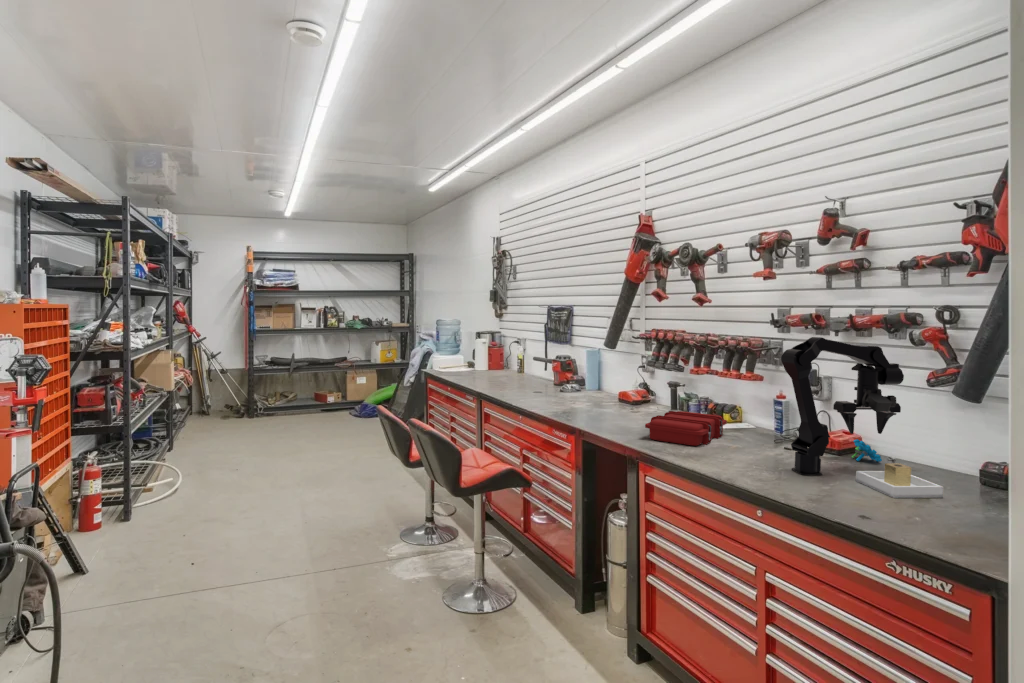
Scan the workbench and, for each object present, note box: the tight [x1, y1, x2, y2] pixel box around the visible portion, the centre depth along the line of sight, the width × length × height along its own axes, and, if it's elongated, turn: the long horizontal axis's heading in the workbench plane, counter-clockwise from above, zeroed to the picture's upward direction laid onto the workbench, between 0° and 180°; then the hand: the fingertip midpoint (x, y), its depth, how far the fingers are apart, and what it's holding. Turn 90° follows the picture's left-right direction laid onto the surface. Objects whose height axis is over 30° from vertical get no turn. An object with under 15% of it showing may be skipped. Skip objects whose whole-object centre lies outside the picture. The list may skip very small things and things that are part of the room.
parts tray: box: [855, 470, 944, 499], centre depth 166 cm, size 14×16×3 cm
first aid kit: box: [644, 410, 728, 447], centre depth 234 cm, size 32×23×9 cm
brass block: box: [884, 462, 912, 486], centre depth 166 cm, size 4×4×6 cm
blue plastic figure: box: [851, 438, 883, 463], centre depth 198 cm, size 11×6×10 cm
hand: (865, 433), depth 185 cm, fingers open, 9 cm apart
